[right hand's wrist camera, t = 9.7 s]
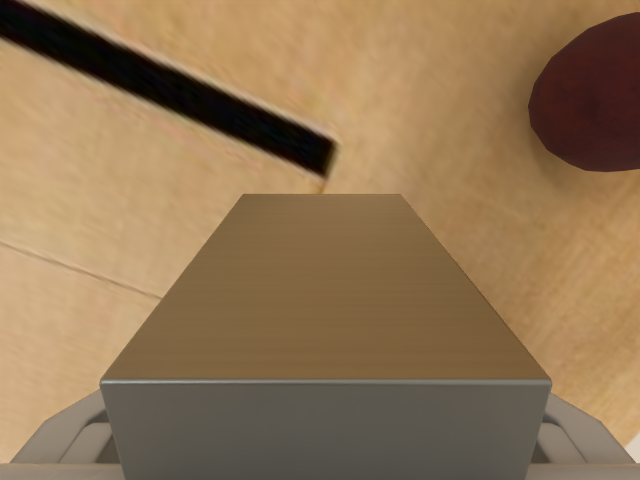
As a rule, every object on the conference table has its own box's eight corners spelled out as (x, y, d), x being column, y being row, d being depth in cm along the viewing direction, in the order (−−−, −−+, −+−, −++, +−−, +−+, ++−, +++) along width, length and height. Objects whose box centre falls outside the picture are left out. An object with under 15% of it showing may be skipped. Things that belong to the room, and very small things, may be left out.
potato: (628, 152, 23) (749, 176, 17) (501, 166, 24) (571, 194, 17) (654, 17, 20) (810, -19, 14) (510, 34, 21) (597, 7, 14)
